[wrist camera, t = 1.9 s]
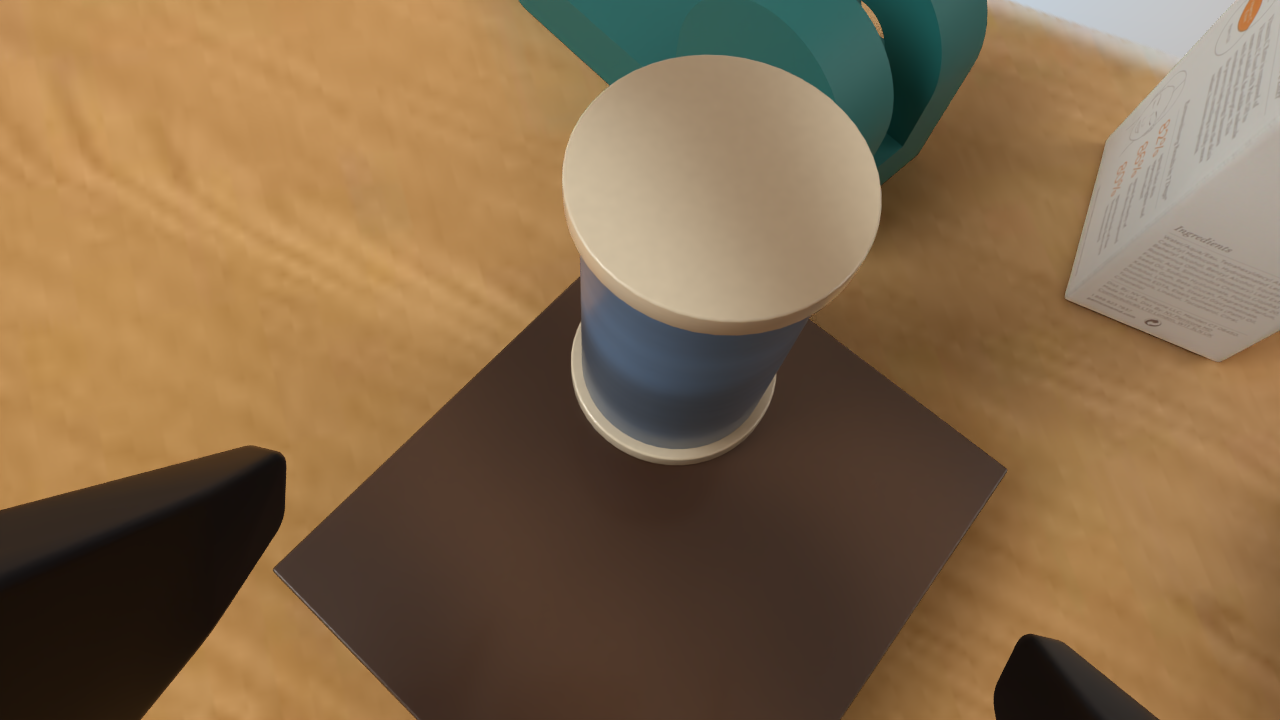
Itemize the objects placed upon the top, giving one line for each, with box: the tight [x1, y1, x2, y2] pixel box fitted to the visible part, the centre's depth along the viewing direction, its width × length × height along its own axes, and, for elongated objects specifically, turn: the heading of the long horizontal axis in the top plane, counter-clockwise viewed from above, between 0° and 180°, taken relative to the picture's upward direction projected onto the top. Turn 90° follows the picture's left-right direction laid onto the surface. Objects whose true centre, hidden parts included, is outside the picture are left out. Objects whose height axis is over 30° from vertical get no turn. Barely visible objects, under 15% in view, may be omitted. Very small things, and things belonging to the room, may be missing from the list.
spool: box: [562, 55, 881, 465], centre depth 18 cm, size 6×6×9 cm
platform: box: [273, 277, 1007, 720], centre depth 22 cm, size 15×13×2 cm
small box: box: [1065, 0, 1280, 362], centre depth 23 cm, size 8×6×10 cm
